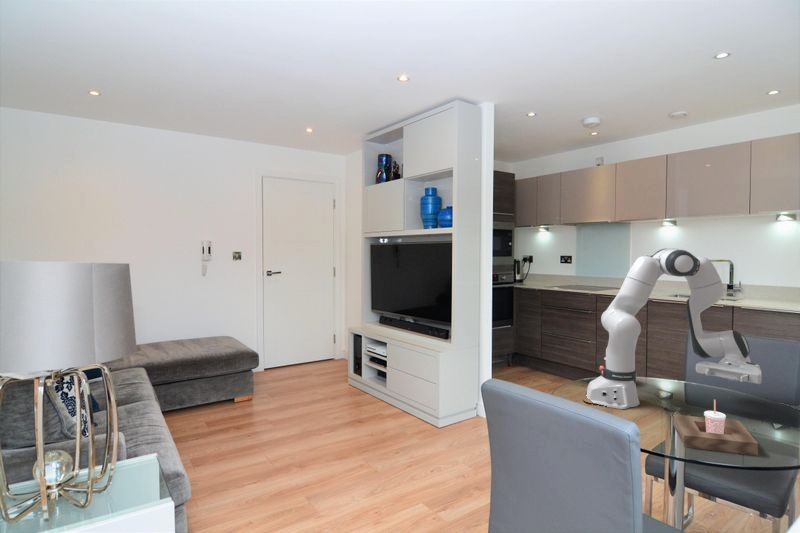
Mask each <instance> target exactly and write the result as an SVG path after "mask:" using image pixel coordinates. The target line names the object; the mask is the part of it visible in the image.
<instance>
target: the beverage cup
mask: <svg viewBox="0 0 800 533" xmlns="http://www.w3.org/2000/svg"><path fill="white" fill-rule="evenodd" d="M716 405H717V403H716V399H713V410H705V411H704V412H703V416H704V417H705V422H706V432H708V433H717V434H724V423H725V420H727V419H726V417H727V415H726V414H725V413H723V412H720V411H717V408H716V407H717V406H716Z"/></svg>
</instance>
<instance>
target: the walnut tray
mask: <svg viewBox="0 0 800 533" xmlns="http://www.w3.org/2000/svg"><path fill="white" fill-rule="evenodd" d="M672 418H673V422H672V423H673V427H674V430H675V432H676V433H677V435H678V437H679V439H680V442H681V443H682V445H683V448H691V449H699V450H706V449H707V451H715V452H724V453H733V454H739V453H741V455H747V454H750V455H749V456H757V457H758V456H759V443H758V441H757V440H756V439H755V438H754V437H753V436H752V434H751V433H750V432H749V431H748V430H747V428H746V427H745V425H744V424H742V422H741V421H740V420H732V419H725V423H724V434H717V433H708V432H706V422H705V416H704V417H702V416H694V415H693V416H692V415H684V414H683V415H681V414H673V417H672Z"/></svg>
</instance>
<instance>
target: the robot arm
mask: <svg viewBox="0 0 800 533" xmlns="http://www.w3.org/2000/svg"><path fill="white" fill-rule="evenodd" d="M664 274H665V275H667V276H671V277H677V278H678V277H684V278H685V279H686V282H687V284H688V287H689V289H690V290H689V291H690V296H689V297H688V299H687V300H686V305H685V306H686V315H687V322H688V327H689V332H690V339H691V349H692V351H693V353H694V354H695V356H698V357H700V358H702V359H705V360H706V359H711V358H716V357H723V358H721V359H720V360H719V362H718V363H717V362H712V361H705V360H704V361H699V362H697V363H695V372H696V374H701V375H705V376H707V377H712V376H713V377H717V378H723V379H725V380H727V381H731V382H739V383H743V382H744V383H745V382H746V383H749V384H757V385H761V384H762V376H763V374H762V370H761V367H760V365H759V364H757V363H753V362H752V361H751V358H750V356H749V355H750V352H751V350H750V344H749V343H748V340H747V338H746V337H745V336H744V335H743V334H742V333H741V332H739V331H737V330H735V329H731V330H724V331H717V332H710V333H706V332H704V330H703V325H702V321H701V313H702V312H703V311H704V310H707V309H708V308H710V307H712V306H714V305H715V304H716V303H718V302H719V301H720V300H721V299H722V298H723V297H724V294H725V288H724V285H723V281H722V279H721V277H720V274H719V273H718V271H717V269H716V267H715V265H714V264H713V263H712V261H711V259H709V258H708V257H705V256H695V255H693V254H692V253H691V252H689V251H687V250H685V249H678V248H674V247H673V248H672V247H671V248H663V249H659V250H658V251H656V252H655V253H653V254H652V255H642V256H639V257H638V258H637V259H636V260H635V261H634V263H633V264H632V265H631V267H630V269H629V271H627V274H626V276H625V279H624V280H623V282H622V285H621V286H620V289H619V291H618V293H617V294H616V296H615V297H614V299H613V300H612V301H611V303H610V304H609V306H608V307H607V308H606V309H605V311H603V313H602V314H601V317H600V322H601V325H602V327H603V328H604V330H605V331H607V332H608V341H607V346H606V348H605V357H606V364H605V366H604V365H600V366H599V371H600V376H598V377H596V378H595V379H592V380H591V381H590V382H589V383H588V385H587V389H586V391H587V395H586V396H587V398H588V399H590V400H591V401H592V402H593V403H597V404H601V405H604V406H603V407H605V406H607V407H606V408H612V409H619V410H626V409H629V408H634V407H635V408H636V407H638V406H639V405H640V403H641V402H640V400H639V397H638V396H639V395H638V391H637V385H636V384H637V380H638V379H637V377H638V376H637V370H636V348H637V343H638V338H639V336H640V334H641V333H642V332H641V331H642V326H641V324H640V322H639V320H638V319H637V318H636V317H635V316H636V315H637V314H638V312H639V311H640V310H641V309H642V308H643V307H644V306H645V305H646V304H647V303H648V301H649V299H650V296H651V294H652V292H653V289H654V288H655V286H656V283H657V281H658V279H659V278H660V277H661V276H663V275H664Z"/></svg>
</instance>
